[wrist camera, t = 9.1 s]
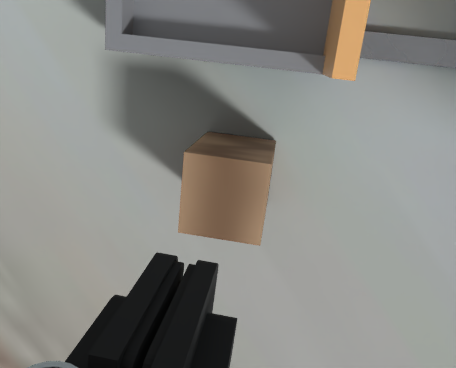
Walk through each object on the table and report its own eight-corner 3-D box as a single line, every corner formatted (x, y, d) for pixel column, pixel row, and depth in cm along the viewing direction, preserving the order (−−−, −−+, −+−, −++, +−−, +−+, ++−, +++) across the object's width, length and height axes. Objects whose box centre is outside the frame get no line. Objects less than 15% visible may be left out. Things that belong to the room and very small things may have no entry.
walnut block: (276, 140, 29) (271, 164, 22) (266, 205, 30) (259, 245, 24) (207, 131, 29) (183, 152, 23) (202, 195, 31) (178, 232, 24)
